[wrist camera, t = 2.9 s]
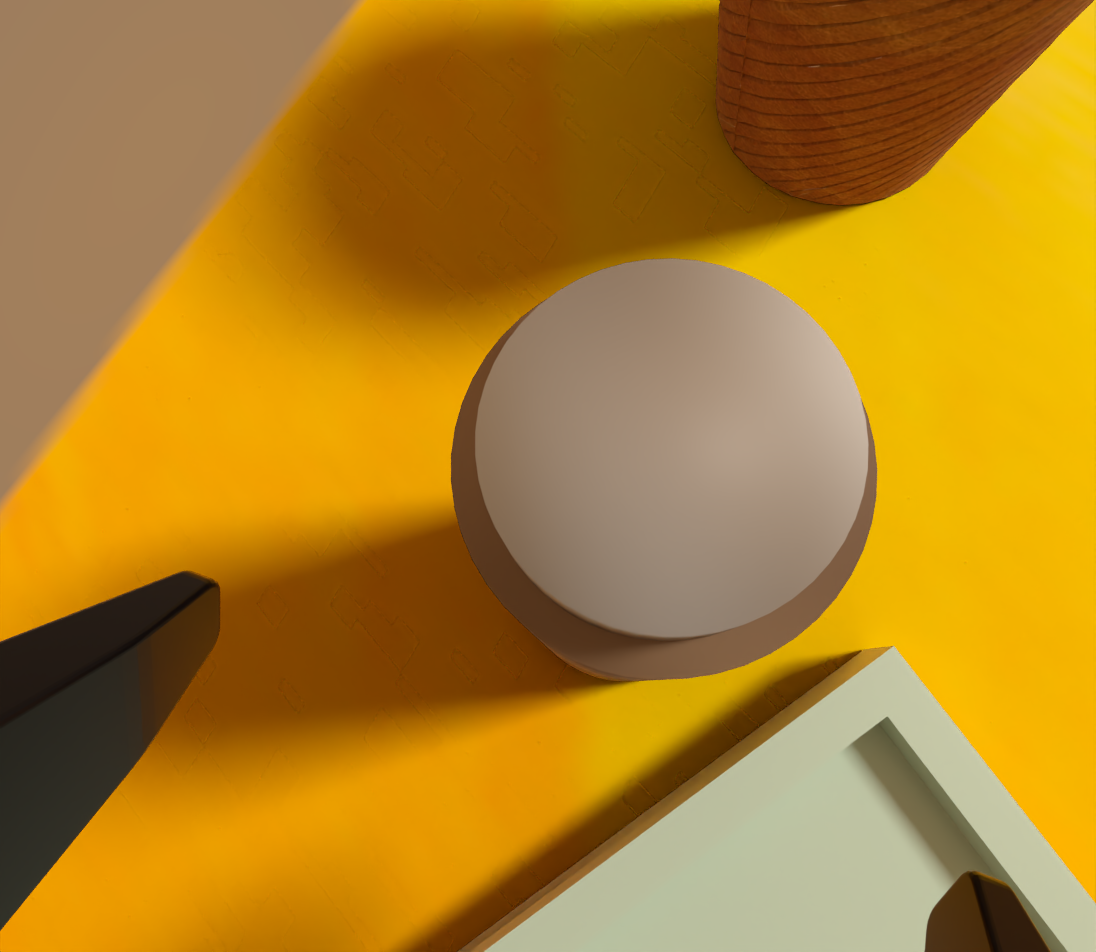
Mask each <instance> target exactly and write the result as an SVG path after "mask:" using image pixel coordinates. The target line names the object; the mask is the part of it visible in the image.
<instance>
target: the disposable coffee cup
mask: <svg viewBox="0 0 1096 952" xmlns="http://www.w3.org/2000/svg"><path fill="white" fill-rule="evenodd" d="M1093 1H1094V0H720V4H719V25H718V40H719V42H718V59H717V83H716V108H717V115H718V119H719V122H720V124H721V127H722V130H723V133H724V136H725V138H726V139H727V141H728V143H729V145H730V147H731V148H732V150H733V152H734V153H735V154H736V155H737V156H738V157H739V158H740V160H741V161H742V162H743V163H744V164H745V165H746V166H747V167H748V168H749V169H750V170H751V171H752V172H753V173H754V174H755V175H757V176H758V177H759V178H761V179H762V180H763V181H765V182H766V183H768V184H769V185H770V186H772V187H775V188H777V189H779V190H781V191H783V192H785V193H787V194H789V195H791V196H794V197H798V198H802V199H806V200H810V201H814V202H818V203H824V204H835V205H848V204H860V203H867V202H871V201H875V200H879V199H882V198H886V197H889V196H891V195H893V194H895V193H897V192H899V191H902V190H904V189H906V188H908V187H910V186H911V185H912V184H914V183H915V182H916V181H918V180H919V179H920V178H922V177H923V176H924V175H925V174H927V173H928V172H929V171H930V170H931V168H932V167H933V166H934V165H935V164H936V163H937V162H938V160H939V159H940V158H941V157H942V156H943V155H944V154H945V153H946V152H947V151H948V150H949V149H950V148H951V147H952V146H953V145H954V144H955V143H956V141H957V140H958V139H959V138H960V137H961V136H962V135H964V134H965V133H966V132H967V131H968V130H969V129H970V128H971V127H972V125H973V124H974V123H975V122H976V121H977V120H978V119H979V118H980V117H981V116H982V115H983V114H984V113H985V112H986V111H987V110H988V109H989V108H990V106H991V105H992V104H993V103H995V102H996V101H997V100H998V99H999V98H1000V97H1001V95H1002V94H1003V93H1004V92H1005V91H1006V90H1007V89H1008V88H1009V86H1010V85H1011V84H1012V83H1013V82H1014V81H1015V80H1016V79H1017V78H1018V77H1019V76H1020V75H1021V74H1022V73H1023V72H1024V71H1026V70H1027V69H1028V68H1029V67H1030V66H1031V65H1032V64H1033V63H1034V61H1035V60H1036V59H1037V58H1038V57H1039V56H1040V55H1041V54H1042V53H1043V52H1044V51H1045V50H1046V49H1047V48H1048V47H1049V46H1050V45H1051V44H1052V43H1053V41H1054V40H1055V39H1056V38H1057V37H1058V36H1059V35H1060V34H1061V32H1062V31H1063V30H1064V29H1065V28H1067V27H1068V26H1069V25H1070V24H1071V23H1072V22H1073V21H1074V20H1075V19H1076V18H1077V17H1078V16H1079V15H1080V14H1081V13H1082V12H1083V11H1084V10H1085V9H1086V8H1087V7H1088V6H1089V5H1090V4H1091V3H1092V2H1093Z"/></svg>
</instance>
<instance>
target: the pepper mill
mask: <svg viewBox="0 0 1096 952" xmlns="http://www.w3.org/2000/svg"><path fill="white" fill-rule="evenodd" d="M451 484H452V492H453V500H454V508H455V511H456V515H457V519H458V523H459V526H460V530H461V534H462V536H463V539H464V541H465V544H466V546H467V548H468V551H469V553H470V556H471V558H472V560H473V562H474V564H475V565H476V567H477V569H478V570H479V572H480V574H481V575H482V577H483V579H484V581H485V582H486V584H487V585H488V587H489V588H490V589H491V590H492V592H493V593H494V594H495V596H496V597H497V598H498V599H499V601H500V602H501V603H502V604H503V606H504V607H505V608H506V609H507V610H508V611H509V612H510V613H511V614H512V615H513V616H514V617H515V618H516V619H517V620H518V621H520V622H521V623H522V624H523V625H524V626H525V627H526V628H527V629H528V630H529V631H530V632H531V633H532V634H533V635H534V636H536V637H537V638H538V639H539V640H540V641H541V642H542V643H543V644H544V645H545V646H546V647H547V648H549V649H550V650H551V651H552V652H553V653H554V654H555V655H556V656H557V657H559V658H560V659H561V660H563V661H564V662H565V663H567V664H568V665H570V666H572V667H573V668H575V669H577V670H579V671H581V672H583V673H586V674H588V675H591V676H593V677H597V678H601V679H605V680H613V681H644V680H664V679H684V678H693V677H699V676H706V675H712V674H717V673H721V672H724V671H727V670H731V669H734V668H738V667H741V666H744V665H746V664H749V663H751V662H753V661H755V660H757V659H760V658H762V657H764V656H766V655H768V654H771V653H772V652H774V651H775V650H777V649H779V648H780V647H782V646H783V645H785V644H786V643H788V642H790V641H791V640H793V639H794V638H796V637H797V636H798V635H799V634H800V633H802V632H803V631H804V630H805V629H806V628H808V627H809V626H810V625H811V624H812V623H813V622H815V621H816V620H817V619H818V618H819V617H820V615H821V614H822V613H823V612H824V611H825V610H826V609H827V608H828V607H829V605H830V604H831V603H832V602H833V601H834V600H835V599H836V597H837V596H838V594H839V593H840V591H841V590H842V588H843V587H844V585H845V584H846V582H847V581H848V579H849V578H850V576H851V575H852V573H853V570H854V568H855V566H856V564H857V562H858V560H859V558H860V556H861V554H862V552H863V549H864V546H865V543H866V540H867V537H868V534H869V530H870V527H871V524H872V519H873V513H874V507H875V501H876V488H877V464H876V455H875V446H874V440H873V436H872V432H871V428H870V423H869V419H868V416H867V413H866V410H865V408H864V405H863V403H862V400H861V398H860V394H859V392H858V389H857V387H856V384H855V382H854V379H853V377H852V374H851V372H850V370H849V368H848V366H847V365H846V363H845V361H844V359H843V357H842V356H841V354H840V352H839V350H838V349H837V348H836V346H835V345H834V343H833V342H832V341H831V339H830V338H829V337H828V335H827V334H826V333H825V331H824V330H823V329H822V328H821V327H820V326H819V325H818V324H817V323H816V322H815V321H814V320H813V319H812V317H811V316H810V315H809V314H808V313H807V312H805V311H804V310H803V309H802V308H801V307H799V306H798V305H797V304H796V303H794V302H793V301H792V300H791V299H790V298H788V297H787V296H785V295H784V294H782V293H781V292H779V291H777V290H776V289H774V288H773V287H771V286H769V285H768V284H766V283H764V282H762V281H760V280H758V279H755V278H753V277H751V276H749V275H747V274H745V273H742V272H739V271H736V270H733V269H730V268H727V267H724V266H721V265H716V264H711V263H706V262H701V261H696V260H684V259H648V260H641V261H635V262H629V263H623V264H620V265H616V266H613V267H609V268H606V269H602V270H599V271H597V272H595V273H592V274H590V275H587V276H585V277H583V278H580V279H578V280H576V281H575V282H573V283H571V284H569V285H568V286H566V287H564V288H562V289H561V290H559V291H557V292H556V293H555V294H553V295H552V296H551V297H549V298H548V299H546V300H544V301H543V302H541V303H540V304H538V305H537V306H536V307H534V308H533V309H532V310H530V311H529V312H528V313H527V314H525V315H524V316H523V317H521V318H520V319H519V320H518V321H517V322H516V323H515V324H514V325H513V326H512V327H511V328H510V329H509V330H508V331H507V332H506V333H505V334H504V335H503V336H502V337H501V338H500V339H499V341H498V342H497V343H496V344H495V346H494V347H493V348H492V349H491V351H490V352H489V353H488V354H487V356H486V357H485V359H484V360H483V362H482V364H481V366H480V367H479V369H478V371H477V372H476V374H475V376H474V377H473V379H472V381H471V384H470V386H469V388H468V390H467V393H466V395H465V397H464V400H463V402H462V405H461V409H460V412H459V416H458V419H457V423H456V427H455V432H454V439H453V446H452V453H451Z"/></svg>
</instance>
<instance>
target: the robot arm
mask: <svg viewBox="0 0 1096 952" xmlns="http://www.w3.org/2000/svg"><path fill="white" fill-rule="evenodd" d="M219 629H220V587H219V585H218V583H217V582H216V581H215V580H213V579H211V578H208V577H206V576H203V575H200V574H198V573H195V572H192V571H182V572H178V573H176V574H173V575H171V576H168V577H166V578H163V579H160V580H158V581H155V582H153V583H150V584H148V585H145V586H142V587H140V588H137V589H135V590H132V591H130V592H127V593H124V594H122V595H119V596H117V597H114V598H111V599H109V600H106V601H104V602H101V603H99V604H96V605H93V606H91V607H88V608H86V609H83V610H81V611H78V612H75V613H73V614H70V615H68V616H65V617H63V618H60V619H57V620H55V621H52V622H50V623H47V624H45V625H42V626H39V627H37V628H34V629H32V630H29V631H27V632H24V633H21V634H19V635H16V636H14V637H11V638H8V639H6V640H3V641H1V642H0V930H1V929H2V928H3V927H4V925H5V924H6V923H7V922H8V921H9V919H10V918H11V917H12V916H13V914H14V913H15V912H16V911H17V910H18V908H19V907H20V906H21V905H22V903H23V902H24V901H25V900H26V898H27V897H28V896H29V895H30V894H31V892H32V891H33V890H34V889H35V887H36V886H37V885H38V884H39V882H40V881H41V880H42V879H43V878H44V876H45V875H46V874H47V873H48V871H49V870H50V869H51V868H52V867H53V865H54V864H55V863H56V862H57V860H58V859H59V858H60V857H61V855H62V854H63V853H64V852H65V851H66V849H67V848H68V847H69V846H70V844H71V843H72V842H73V841H74V840H75V838H76V837H77V836H78V835H79V833H80V832H81V831H82V830H83V828H84V827H85V826H86V825H87V824H88V822H89V821H90V820H91V819H92V817H93V816H94V815H95V814H96V812H97V811H98V810H99V809H100V808H101V806H102V805H103V804H104V803H105V801H106V800H107V799H108V798H109V797H110V795H111V794H112V793H113V792H114V790H115V789H116V788H117V787H118V785H119V784H120V783H121V782H122V781H123V779H124V778H125V777H126V776H127V774H128V773H129V772H130V771H131V769H132V768H133V767H134V766H135V764H136V763H137V762H138V760H139V759H140V758H141V757H142V755H143V754H144V753H145V751H146V750H147V748H148V747H149V745H150V744H151V742H152V741H153V740H154V738H155V737H156V735H157V734H158V732H159V730H160V729H161V727H162V726H163V724H164V723H165V721H166V720H167V718H168V717H169V715H170V714H171V712H172V710H173V709H174V707H175V706H176V704H177V703H178V701H179V700H180V698H181V697H182V695H183V694H184V692H185V690H186V689H187V687H188V686H189V684H190V683H191V681H192V680H193V678H194V677H195V675H196V674H197V672H198V670H199V669H200V667H201V666H202V664H203V663H204V661H205V660H206V658H207V657H208V655H209V654H210V652H211V651H212V649H213V647H214V645H215V643H216V641H217V638H218V635H219ZM925 952H1051V951H1050V949H1049V948H1048V946H1047V945H1046V943H1045V941H1044V940H1043V938H1042V936H1041V935H1040V933H1039V932H1038V930H1037V928H1036V927H1035V925H1034V923H1033V922H1032V920H1031V919H1030V917H1029V915H1028V914H1027V912H1026V910H1025V909H1024V907H1023V906H1022V904H1021V902H1020V901H1019V899H1018V897H1017V896H1016V894H1015V893H1014V891H1013V890H1012V889H1011V887H1010V886H1009V885H1008V884H1006V883H1005V882H1003V881H1001V880H999V879H996V878H993V877H991V876H988V875H986V874H983V873H980V872H978V871H975V870H968V871H966V872H964V873H963V874H961V875H960V876H959V878H958V879H957V880H956V881H955V882H954V884H953V885H952V886H951V887H950V888H949V889H948V891H947V892H946V893H945V894H944V895H943V896H942V898H941V899H940V900H939V901H938V902H937V904H936V905H935V906H934V908H933V909H932V911H931V913H930V916H929V919H928V922H927V928H926V939H925Z"/></svg>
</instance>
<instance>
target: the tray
mask: <svg viewBox="0 0 1096 952" xmlns="http://www.w3.org/2000/svg"><path fill="white" fill-rule="evenodd" d="M968 870H975V871H978V872H980V873H983V874H986V875H988V876H991V877H993V878H996V879H999V880H1001V881H1003V882H1005V883H1006V884H1008V885H1009V886H1010V887H1011V889H1012V890H1013V891H1014V893H1015V894H1016V896H1017V897H1018V899H1019V901H1020V902H1021V904H1022V906H1023V907H1024V909H1025V910H1026V912H1027V914H1028V915H1029V917H1030V919H1031V920H1032V922H1033V923H1034V925H1035V927H1036V928H1037V930H1038V932H1039V933H1040V935H1041V936H1042V938H1043V940H1044V941H1045V943H1046V945H1047V946H1048V948H1049V949H1050V951H1051V952H1096V904H1095V902H1094V901H1093V900H1092V899H1091V897H1090V896H1089V895H1088V893H1087V892H1086V891H1085V890H1084V888H1083V887H1082V886H1081V884H1080V883H1079V882H1078V881H1077V879H1076V878H1075V877H1074V876H1073V874H1072V873H1071V872H1070V870H1069V869H1068V868H1067V867H1066V865H1065V864H1064V863H1063V861H1062V860H1061V859H1060V858H1059V856H1058V855H1057V854H1056V853H1055V851H1054V850H1053V849H1052V847H1051V846H1050V845H1049V844H1048V842H1047V841H1046V840H1045V838H1044V837H1043V836H1042V835H1041V833H1040V832H1039V831H1038V830H1037V828H1036V827H1035V826H1034V824H1033V823H1032V822H1031V821H1030V819H1029V818H1028V817H1027V815H1026V814H1025V813H1024V812H1023V810H1022V809H1021V808H1020V807H1019V805H1018V804H1017V803H1016V801H1015V800H1014V799H1013V798H1012V796H1011V795H1010V794H1009V792H1008V791H1007V790H1006V789H1005V787H1004V786H1003V785H1002V784H1001V782H1000V781H999V780H998V778H997V777H996V776H995V775H994V773H993V772H992V771H991V770H990V768H989V767H988V766H987V764H986V763H985V762H984V761H983V759H982V758H981V757H980V755H979V754H978V753H977V752H976V750H975V749H974V748H973V747H972V745H971V744H970V743H969V741H968V740H967V739H966V738H965V736H964V735H963V734H962V732H961V731H960V730H959V729H958V727H957V726H956V725H955V724H954V722H953V721H952V720H951V718H950V717H949V716H948V715H947V713H946V712H945V711H944V709H943V708H942V707H941V706H940V704H939V703H938V702H937V701H936V699H935V698H934V697H933V695H932V694H931V693H930V692H929V690H928V689H927V688H926V686H925V685H924V684H923V683H922V681H921V680H920V679H919V678H918V676H917V675H916V674H915V672H914V671H913V670H912V669H911V667H910V666H909V665H908V663H907V662H906V661H905V660H904V658H903V657H902V656H901V655H900V653H899V652H898V651H897V649H896V648H895V647H894V646H890V647H881V648H873V649H864V650H863V651H861V652H860V653H859V654H857V655H856V656H855V657H853V658H852V659H850V660H849V661H848V662H846V663H845V664H844V665H842V666H841V667H840V668H838V669H837V670H836V671H834V672H833V673H832V674H830V675H829V676H828V677H826V678H825V679H824V680H822V681H821V682H820V683H818V684H817V685H815V686H814V687H813V688H811V689H810V690H809V691H807V692H806V693H805V694H803V695H802V696H801V697H799V698H798V699H797V700H795V701H794V702H793V703H791V704H790V705H789V706H787V707H786V708H785V709H783V710H782V711H780V712H779V713H778V714H776V715H775V716H774V717H772V718H771V719H770V720H768V721H767V722H766V723H764V724H763V725H762V726H760V727H759V728H758V729H756V730H755V731H754V732H752V733H751V734H749V735H748V736H747V737H745V738H744V739H743V740H741V741H740V742H739V743H737V744H736V745H735V746H733V747H732V748H731V749H729V750H728V751H727V752H725V753H724V754H723V755H721V756H720V757H719V758H717V759H716V760H714V761H713V762H712V763H710V764H709V765H708V766H706V767H705V768H704V769H702V770H701V771H700V772H698V773H697V774H696V775H694V776H693V777H692V778H690V779H689V780H688V781H686V782H685V783H683V784H682V785H681V786H679V787H678V788H677V789H675V790H674V791H673V792H671V793H670V794H669V795H667V796H666V797H665V798H663V799H662V800H661V801H659V802H658V803H657V804H655V805H654V806H653V807H651V808H650V809H648V810H647V811H646V812H644V813H643V814H642V815H640V816H639V817H638V818H636V819H635V820H634V821H632V822H631V823H630V824H628V825H627V826H626V827H624V828H623V829H622V830H620V831H619V832H618V833H616V834H615V835H613V836H612V837H611V838H609V839H608V840H607V841H605V842H604V843H603V844H601V845H600V846H599V847H597V848H596V849H595V850H593V851H592V852H591V853H589V854H588V855H587V856H585V857H584V858H582V859H581V860H580V861H578V862H577V863H576V864H574V865H573V866H572V867H570V868H569V869H568V870H566V871H565V872H564V873H562V874H561V875H560V876H558V877H557V878H556V879H554V880H553V881H552V882H550V883H549V884H547V885H546V886H545V887H543V888H542V889H541V890H539V891H538V892H537V893H535V894H534V895H533V896H531V897H530V898H529V899H527V900H526V901H525V902H523V903H522V904H521V905H519V906H518V907H516V908H515V909H514V910H512V911H511V912H510V913H508V914H507V915H506V916H504V917H503V918H502V919H500V920H499V921H498V922H496V923H495V924H494V925H492V926H491V927H490V928H488V929H487V930H486V931H484V932H483V933H481V934H480V935H479V936H477V937H476V938H475V939H473V940H472V941H471V942H469V943H468V944H467V945H465V946H464V947H463V948H461V949H460V950H459V951H457V952H925V939H926V928H927V922H928V919H929V916H930V913H931V911H932V909H933V908H934V906H935V905H936V904H937V902H938V901H939V900H940V899H941V898H942V896H943V895H944V894H945V893H946V892H947V891H948V889H949V888H950V887H951V886H952V885H953V884H954V882H955V881H956V880H957V879H958V878H959V876H960V875H961V874H963V873H964V872H966V871H968Z"/></svg>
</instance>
